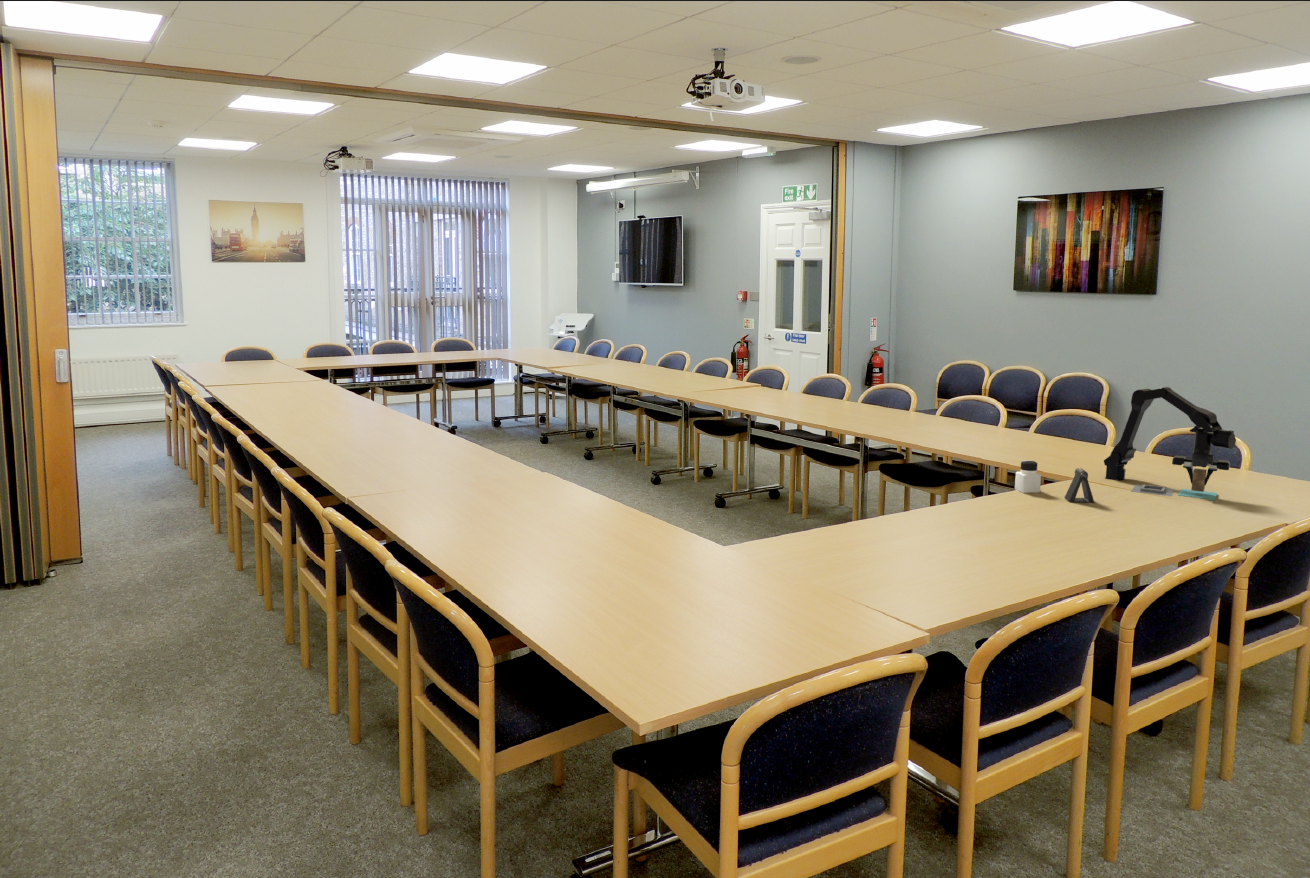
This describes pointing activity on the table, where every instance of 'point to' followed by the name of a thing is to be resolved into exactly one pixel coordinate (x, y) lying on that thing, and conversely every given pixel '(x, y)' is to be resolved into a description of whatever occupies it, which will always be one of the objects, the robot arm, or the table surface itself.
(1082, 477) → the phone stand
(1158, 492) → the holder
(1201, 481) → the walnut block
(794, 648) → the table surface
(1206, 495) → the mat
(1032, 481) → the medicine bottle
